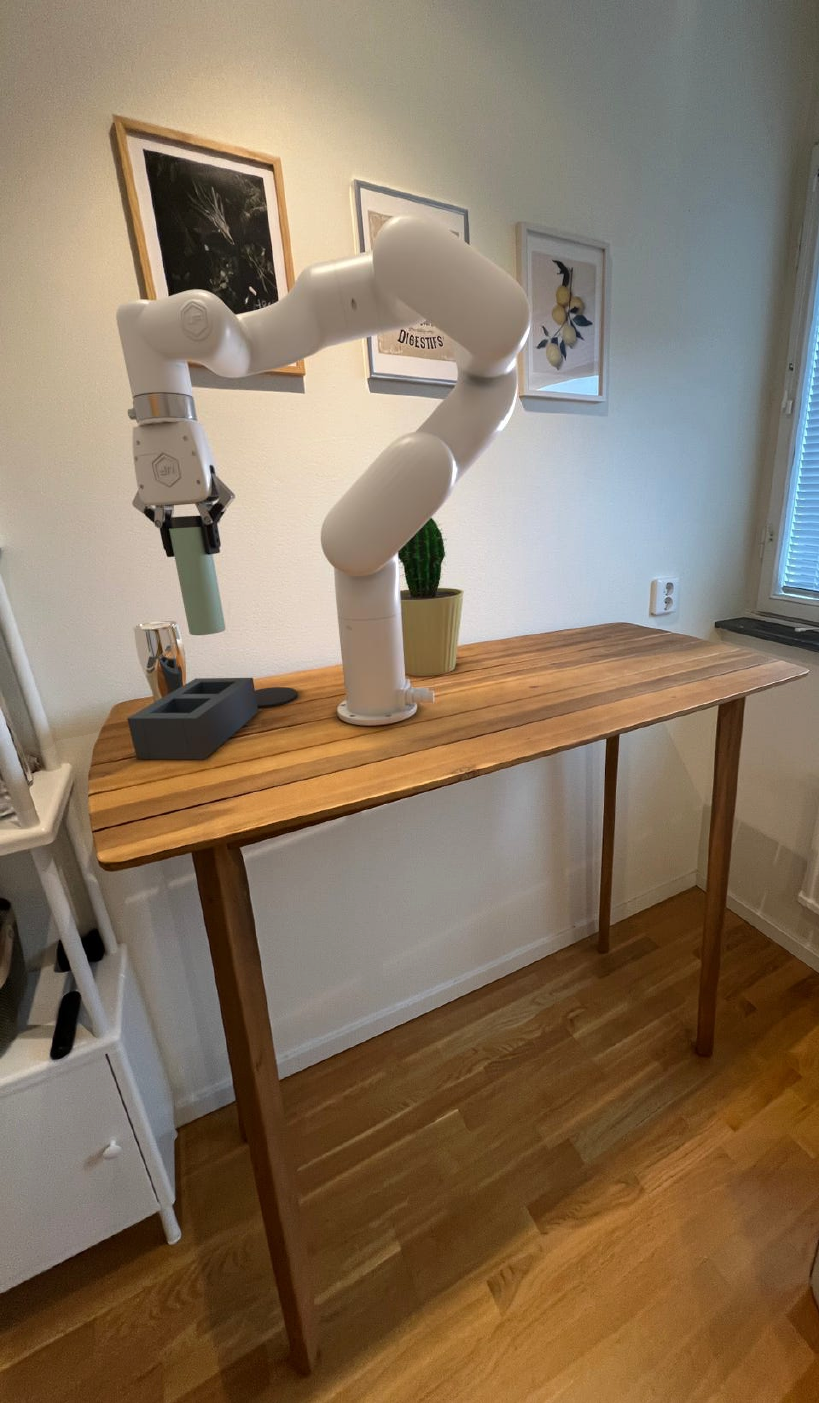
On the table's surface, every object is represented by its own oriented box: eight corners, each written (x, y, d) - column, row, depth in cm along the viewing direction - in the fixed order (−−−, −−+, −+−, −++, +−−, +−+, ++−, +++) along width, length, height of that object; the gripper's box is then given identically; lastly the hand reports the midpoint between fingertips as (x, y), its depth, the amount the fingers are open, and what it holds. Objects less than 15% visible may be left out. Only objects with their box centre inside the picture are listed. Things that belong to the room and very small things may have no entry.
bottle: (231, 627, 85) (212, 514, 79) (215, 634, 80) (194, 515, 74) (200, 628, 86) (179, 516, 80) (182, 635, 81) (159, 517, 75)
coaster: (305, 689, 101) (305, 686, 101) (286, 708, 91) (285, 705, 91) (254, 689, 102) (253, 687, 102) (229, 708, 93) (229, 705, 93)
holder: (258, 712, 90) (253, 677, 88) (204, 759, 73) (196, 718, 71) (202, 712, 92) (195, 678, 90) (136, 759, 75) (126, 718, 73)
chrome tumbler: (180, 720, 89) (161, 629, 84) (142, 719, 90) (121, 629, 85) (204, 705, 95) (187, 620, 90) (168, 705, 96) (150, 620, 91)
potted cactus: (459, 655, 117) (455, 506, 107) (471, 675, 103) (468, 505, 93) (387, 660, 116) (376, 511, 107) (389, 681, 102) (377, 511, 92)
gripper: (90, 416, 71) (123, 561, 77) (213, 403, 68) (238, 553, 74) (126, 424, 78) (154, 556, 84) (239, 412, 75) (260, 549, 81)
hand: (193, 553), depth 79 cm, fingers closed on bottle, 5 cm apart
